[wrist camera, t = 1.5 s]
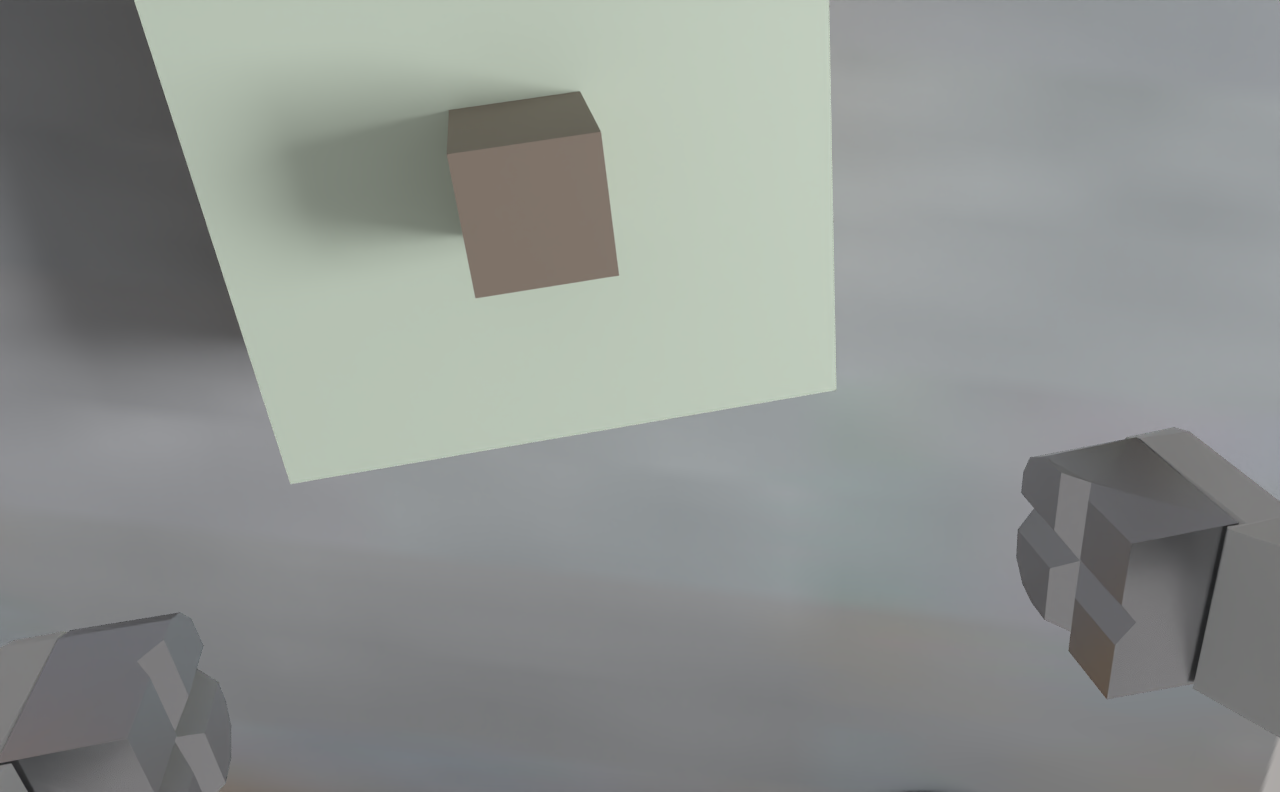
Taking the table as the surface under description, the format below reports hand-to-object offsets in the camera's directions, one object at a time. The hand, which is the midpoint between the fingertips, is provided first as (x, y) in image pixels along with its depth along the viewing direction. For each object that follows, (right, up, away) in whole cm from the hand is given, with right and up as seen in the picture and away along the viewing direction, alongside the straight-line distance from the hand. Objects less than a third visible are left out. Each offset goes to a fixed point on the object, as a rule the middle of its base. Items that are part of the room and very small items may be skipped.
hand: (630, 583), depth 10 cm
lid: (-3, +8, +15) cm, 17 cm away
